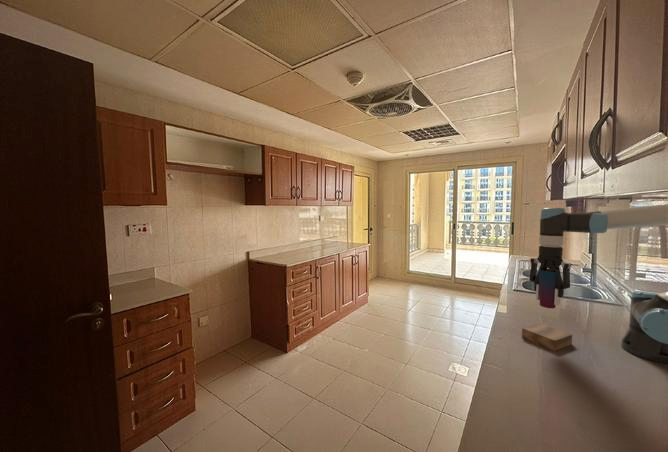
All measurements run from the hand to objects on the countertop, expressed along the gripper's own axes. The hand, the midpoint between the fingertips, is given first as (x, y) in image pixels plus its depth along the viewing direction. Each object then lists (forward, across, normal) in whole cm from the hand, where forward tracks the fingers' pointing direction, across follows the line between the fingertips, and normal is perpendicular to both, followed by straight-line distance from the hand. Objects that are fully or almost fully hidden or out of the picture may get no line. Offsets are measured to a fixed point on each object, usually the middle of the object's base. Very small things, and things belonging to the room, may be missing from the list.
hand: (547, 301), depth 110 cm
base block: (+16, 0, 0) cm, 16 cm away
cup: (+2, 0, 0) cm, 2 cm away
